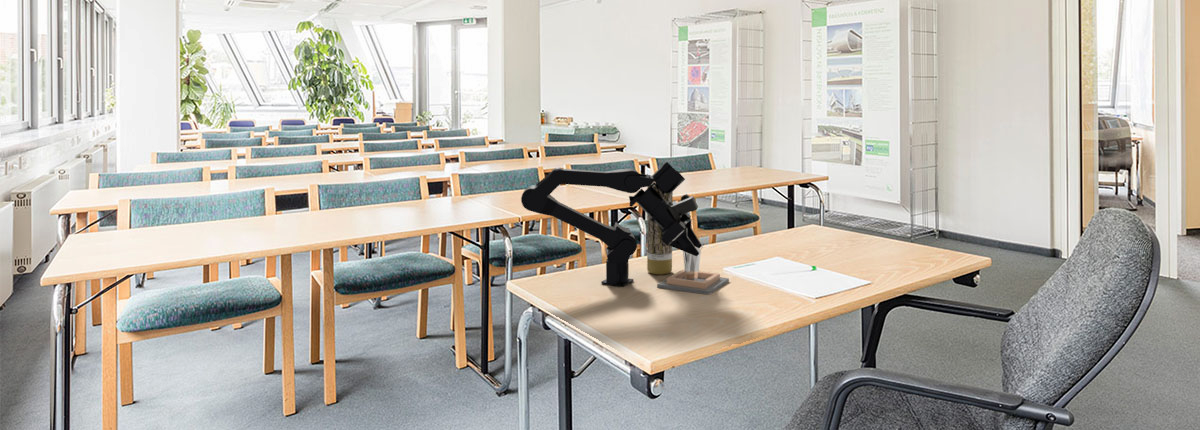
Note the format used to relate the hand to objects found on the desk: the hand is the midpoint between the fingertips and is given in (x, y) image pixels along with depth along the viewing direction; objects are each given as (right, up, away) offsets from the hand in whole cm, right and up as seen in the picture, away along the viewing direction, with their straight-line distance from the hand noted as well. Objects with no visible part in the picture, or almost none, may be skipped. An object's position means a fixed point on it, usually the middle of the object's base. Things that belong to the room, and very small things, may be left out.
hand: (699, 250), depth 181 cm
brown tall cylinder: (-9, -7, +14) cm, 18 cm away
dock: (-1, -9, +2) cm, 9 cm away
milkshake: (-1, -8, +2) cm, 8 cm away
